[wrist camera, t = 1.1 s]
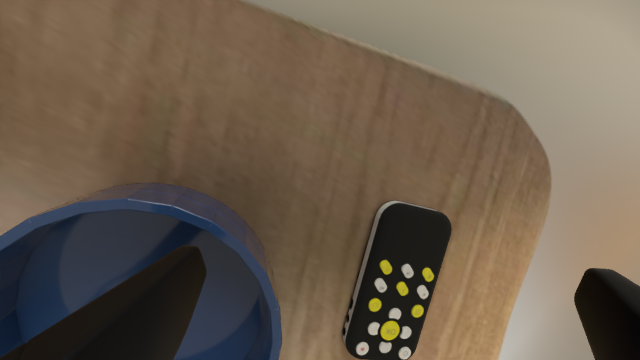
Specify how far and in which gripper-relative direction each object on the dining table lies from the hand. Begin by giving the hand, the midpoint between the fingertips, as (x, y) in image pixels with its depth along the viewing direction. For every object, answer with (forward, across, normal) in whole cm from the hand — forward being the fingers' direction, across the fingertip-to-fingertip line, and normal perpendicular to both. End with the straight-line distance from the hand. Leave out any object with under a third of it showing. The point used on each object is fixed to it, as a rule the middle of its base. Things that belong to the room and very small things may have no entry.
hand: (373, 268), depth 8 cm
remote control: (+14, -1, +15) cm, 21 cm away
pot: (+8, +15, +12) cm, 21 cm away
